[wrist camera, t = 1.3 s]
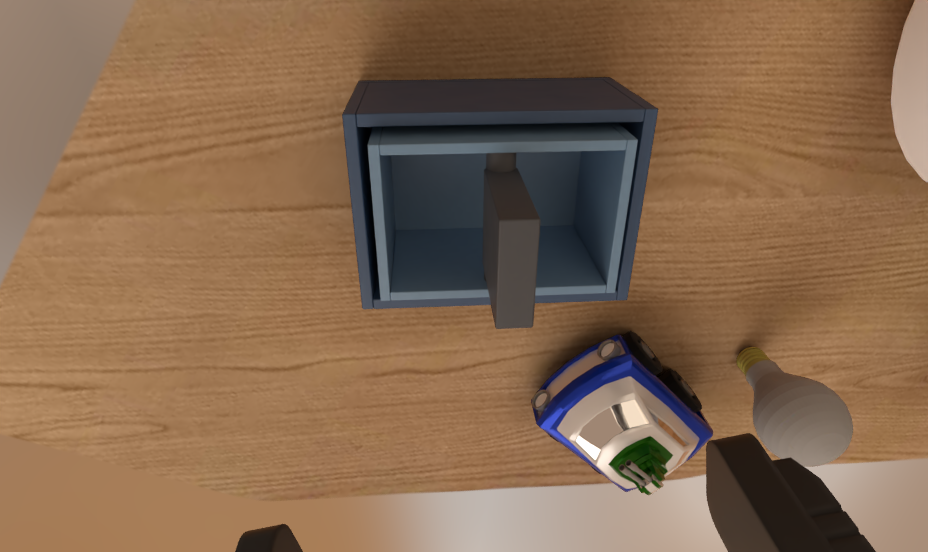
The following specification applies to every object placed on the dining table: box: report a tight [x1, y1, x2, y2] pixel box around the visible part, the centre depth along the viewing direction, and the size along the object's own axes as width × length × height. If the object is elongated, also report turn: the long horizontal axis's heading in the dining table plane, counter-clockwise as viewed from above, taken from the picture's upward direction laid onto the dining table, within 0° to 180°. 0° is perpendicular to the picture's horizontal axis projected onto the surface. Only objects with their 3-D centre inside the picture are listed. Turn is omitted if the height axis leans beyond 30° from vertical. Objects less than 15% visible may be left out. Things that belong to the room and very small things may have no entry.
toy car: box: [531, 331, 713, 495], centre depth 40 cm, size 9×12×10 cm
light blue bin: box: [368, 122, 638, 329], centre depth 28 cm, size 12×8×13 cm, turn 90°
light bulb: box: [736, 347, 853, 467], centre depth 39 cm, size 5×6×10 cm
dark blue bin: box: [342, 77, 658, 309], centre depth 31 cm, size 14×10×8 cm
